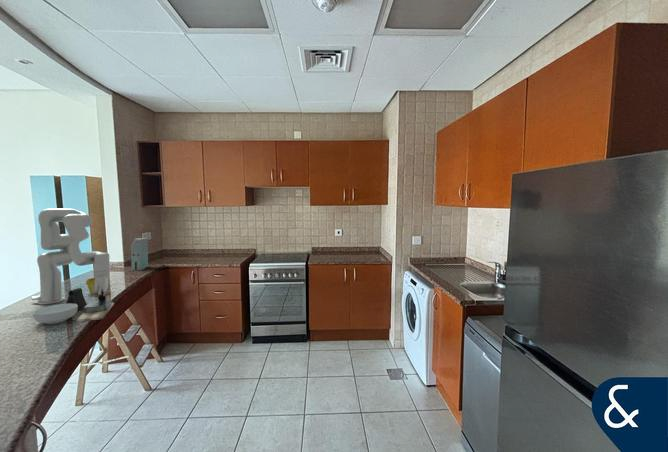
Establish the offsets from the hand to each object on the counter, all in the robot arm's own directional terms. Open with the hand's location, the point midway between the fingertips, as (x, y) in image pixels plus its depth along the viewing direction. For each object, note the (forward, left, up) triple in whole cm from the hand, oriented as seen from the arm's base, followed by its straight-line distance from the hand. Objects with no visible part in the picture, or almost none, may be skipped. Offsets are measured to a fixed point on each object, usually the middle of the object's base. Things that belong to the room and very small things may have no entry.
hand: (102, 302), depth 173 cm
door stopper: (-13, 0, -3) cm, 13 cm away
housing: (0, -8, -1) cm, 8 cm away
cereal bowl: (-15, -18, -3) cm, 24 cm away
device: (+3, +118, -3) cm, 119 cm away
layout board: (0, -11, -3) cm, 11 cm away
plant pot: (-12, +36, -3) cm, 38 cm away
